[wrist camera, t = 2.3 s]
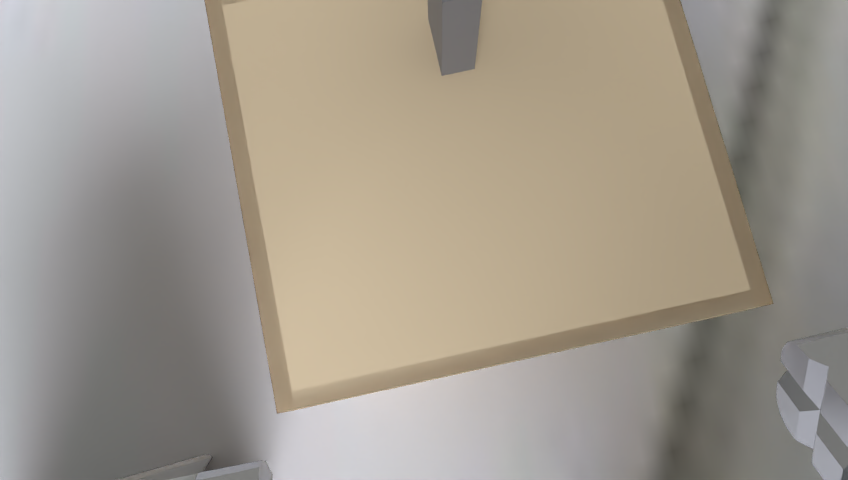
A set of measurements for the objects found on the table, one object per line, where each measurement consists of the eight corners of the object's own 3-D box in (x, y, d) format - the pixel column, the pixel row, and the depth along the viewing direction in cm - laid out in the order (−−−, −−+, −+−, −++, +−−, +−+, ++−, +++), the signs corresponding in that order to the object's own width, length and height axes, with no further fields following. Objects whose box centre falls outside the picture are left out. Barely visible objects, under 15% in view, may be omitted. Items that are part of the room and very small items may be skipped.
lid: (751, 309, 36) (858, 281, 27) (287, 411, 36) (235, 419, 27) (637, -71, 40) (696, -208, 31) (217, 17, 40) (150, -96, 30)
